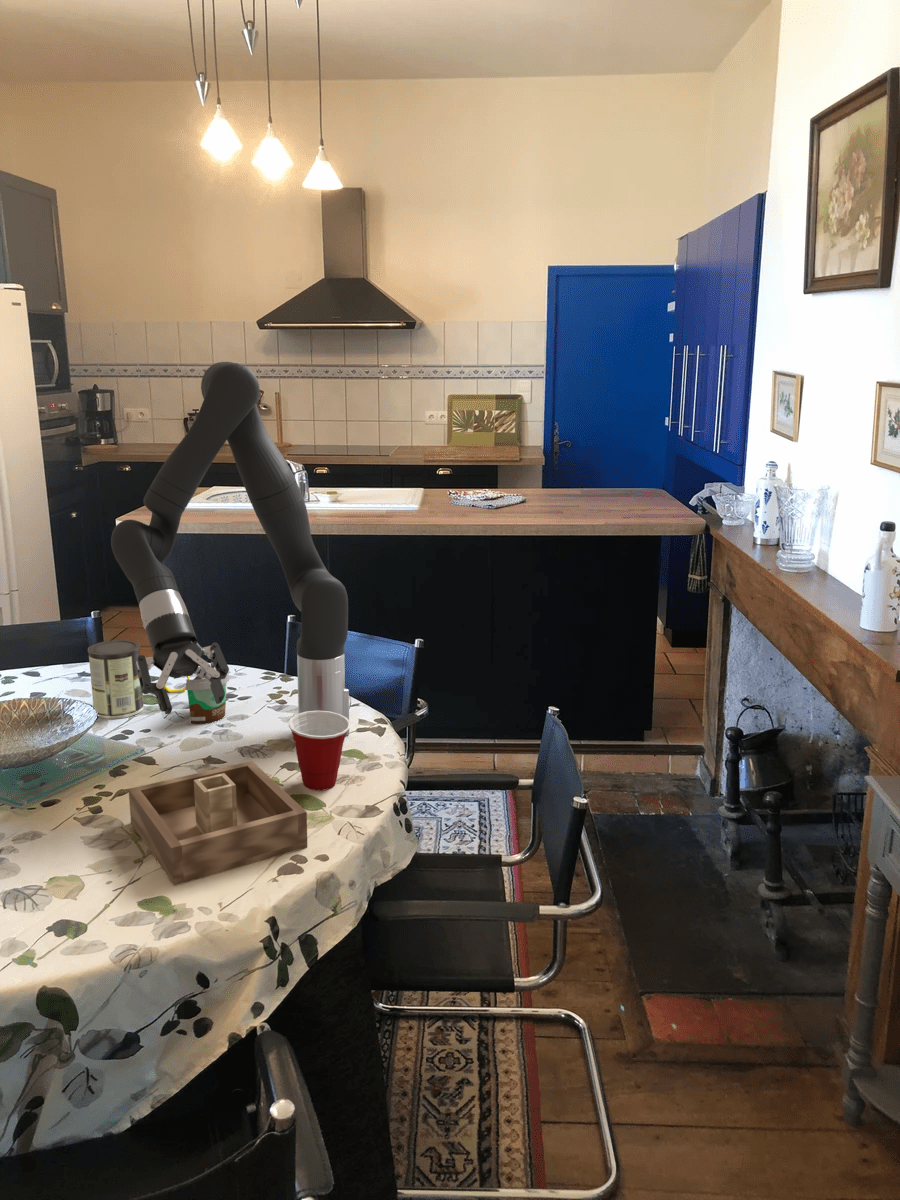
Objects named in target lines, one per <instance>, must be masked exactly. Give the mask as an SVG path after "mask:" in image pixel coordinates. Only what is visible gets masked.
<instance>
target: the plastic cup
mask: <svg viewBox="0 0 900 1200" xmlns="http://www.w3.org/2000/svg"><path fill="white" fill-rule="evenodd" d="M351 725H352V724H351V722H350V719H349V720H348V719H347V718H346V717H344V716H342V715H340V714H337V713H333V712H329V711H307V712H303V713H299V714H298V713H296V714H295V715H293V716H292V717H290V719H289V721H288V727H289V728H290V731H291V734H292V739H293V742H294V746H295V751H296V759H297V762H298V763H297V764H298V767H299V771H300V775H301V780H302V782H303V783H302V784H303V786H304V788H307V789H308V790H311V791H325V790H330V789H332V788H333V787H334V786H336V784H337V780H338V774H339V773H338V772H339V768H340V764H341V757H342V752H343V746H344V742H345V739H346V736H347V735H346V733H347V732H348V730H349V731H350V728H351Z"/></svg>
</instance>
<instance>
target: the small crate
mask: <svg viewBox="0 0 900 1200" xmlns="http://www.w3.org/2000/svg"><path fill="white" fill-rule="evenodd" d="M194 795H195V813H196V827H197V828H198V829H199V830H200V832H201V833H202V834H207V833H210V832H214V831H218V830H222V829H226V828H229V827H233V826H237V802H236V785H235V784H234V783H233V782H232V781H231V779H230V778H229V777H228V776H227V775H226V774H225V773H222V774H218V775H214V776H209V777H205V778H201V779H196V780H194Z"/></svg>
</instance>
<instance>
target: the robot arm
mask: <svg viewBox="0 0 900 1200" xmlns="http://www.w3.org/2000/svg"><path fill="white" fill-rule="evenodd" d="M200 383H201V384H200V389H201V391H200V392H201V395H202V398H203V400H202V403H201V406H200V409H199V411H198V413H197V415H196V417H195V420H194V421H193V423H192V424H191V426H190V427H189V429H188V431H187V432H186V434H185V436H184V437H183V438H182V439H181V441H180V442H179V443H178V444H177V446H176V447H175V448H174V450H173V451H172V452H171V453H170V454H169V456H168V457H167V459H165V461H164V462H163V464H162V465H161V467H160V469H159V470H158V472H157V474H156V475H155V477H154V479H153V481H152V483H151V484H150V486H149V487H148V489H147V491H146V493H145V495H144V497H143V505H144V506H145V507H146V508H147V510H148V511H150V512H151V517H150V518H151V519H150V522H149V525H148V524H146V523H143V522H142V521H139V520H137V519H136V520H135V519H125V520H122V521H120V522H119V523H118V524H116V525H115V527H114V528H113V530H112V532H111V533H112V534H111V536H110V537H111V539H110V544H111V545H110V546H111V547H110V548H111V550H112V554H113V555H114V558H115V560H116V562H117V563H118V565H119V567H120V568H121V570H122V571H123V573H124V575H125V577H126V578H127V580H128V581H129V583H131V585H132V587H133V592H134V595H135V597H136V600H137V603H138V606H139V611H140V616H141V617H140V618H141V621H142V627H143V628H144V630H145V634H146V637H147V640H148V642H149V646H150V649H151V652H152V656H148V657H147V656H145V655H142V654H140V656H138V659H137V662H136V669H137V673H138V678H139V682H140V686H141V690H142V693H143V695H148V694H153V695H154V696H155V698H156V701H157V705H158V707H159V710H160V711H161V712H162V713H163V712H164V714H165V715H170V714H172V711H173V707H172V702H171V700H170V697H169V694H168V693H169V692H168V691H167V690H166V689H164V686H165V685H166V684H167V682H168V680H169V678H173V680H176V679H180V678H182V677H187V676H189V677H191V676H193V675H194V674H195V675H196V676H199V677H200V678H204V679H206V680H207V681H208V682H210V683H211V685H210V687H211V690H212V693H213V696H214V699H215V702H216V704H219V703H221V702H222V700H223V698H224V696H225V691H224V688H223V686H222V683H221V679H225V678H226V676H227V673H229V671H230V667H229V666H228V663H227V661H226V659H225V656H224V654H223V652H222V649H221V647H220V645H219V643H218V642H216V641H215V642H213V643H211V645H208V646H204V647H202V646H201V645H200V644H199V642H198V639H197V635H196V633H195V630H194V626H193V624H192V621H191V618H190V615H189V612H188V609H187V606H186V603H185V602H184V600H183V598H182V596H181V594H180V591H179V587H178V585H177V582H176V578H175V576H174V574H173V572H172V570H171V569H170V568H169V567H167V566H166V565H164V562H165V561H166V560H167V559H168V557H169V556H170V554H171V552H172V550H173V547H174V544H175V541H176V539H177V538H176V537H177V534H178V531H179V527H180V523H181V518H182V516H183V513H184V512H185V510H186V508H187V507H188V505H189V503H190V502H191V500H192V498H193V496H194V495H195V493H196V491H197V489H198V487H199V486H200V484H201V483H202V480H203V479H204V477H205V475H206V474H207V472H208V470H209V468H210V466H211V465H212V463H213V462H214V459H215V458H216V457H217V455H218V453H219V452H220V450H221V448H223V446H224V444H225V443H226V442H227V443H228V446H229V448H230V449H231V453H232V457H233V458H234V462H235V465H236V469H237V471H238V474H239V476H240V479H241V481H242V483H243V487H244V489H245V492H246V495H247V497H248V499H249V501H250V504H251V506H252V508H253V510H254V511H253V512H254V513H255V515H256V517H257V519H258V521H259V523H260V525H261V527H262V529H263V531H264V533H265V535H266V537H267V538H268V540H269V542H270V545H271V546H272V548H273V549H274V551H275V553H276V555H277V557H278V560H279V563H280V564H281V568H282V570H283V574H284V576H285V580H286V583H287V586H288V589H289V593H290V596H291V599H292V602H293V603H294V605H295V607H296V608H297V609H298V610H299V612H300V613H301V618H300V621H301V627H300V628H301V630H300V632H301V633H300V637H299V638H298V639H297V641H296V656H297V657H296V658H297V661H296V662H297V663H296V665H297V703H298V705H297V706H298V707H297V709H298V712H297V714H299V713H303V712H307V711H329V712H333V713H337V714H340V715H342V716H344V717H346V718H347V719H348V720H349V721H350V691H349V689H348V688H347V687H346V683H345V682H346V681H345V680H346V678H345V677H346V676H345V674H346V673H345V671H346V670H345V668H346V667H345V646H346V645H345V644H346V643H347V639H348V629H349V597H348V593H347V590H346V587H345V585H344V584H343V583H342V582H341V581H340V580H339V579H337V578H336V577H334V576H333V575H332V574H331V573H330V572H329V571H328V570H327V568H326V566H325V565H324V563H323V561H322V559H321V557H320V555H319V552H318V550H317V549H316V546H315V543H314V541H313V537H312V534H311V533H312V532H311V525H310V520H309V514H308V510H307V504H306V503H305V499H304V496H303V494H302V492H301V489H300V486H299V484H298V483H297V480H296V478H295V476H294V473H293V471H292V470H291V468H290V465H288V462H287V461H286V459H285V457H284V456H283V454H282V453H281V451H280V450H279V448H278V447H277V445H276V444H275V442H274V440H273V439H272V437H271V436H270V434H269V433H268V431H267V428H266V427H265V424H264V422H263V419H262V416H261V414H260V411H259V408H258V405H257V402H258V401H259V397H260V389H261V388H260V383H259V379H258V378H257V376H256V374H255V373H254V372H253V370H252V369H251V368H249V367H247V366H245V365H243V364H240V363H237V362H232V361H220V362H219V361H218V362H216V363H213V364H211V366H209V367H208V368H207V369H206V370H205V372H204V373H203V375H202V379H201V382H200ZM204 656H207V658H208V659H209V660H212V661H211V662H213V663H214V666H215V668H216V670H215V669H213V668H212V667H211V663H209V662H208V661H207V660H205V659H203V657H204ZM152 665H153V666H154V667H156V668H157V669H159V670H160V671H161V673H160V675H159V678H158V680H157V682H152V679H151V675H150V669H151V667H152ZM348 735H350V729H349V730H348V732H347V733H346V736H348Z"/></svg>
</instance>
